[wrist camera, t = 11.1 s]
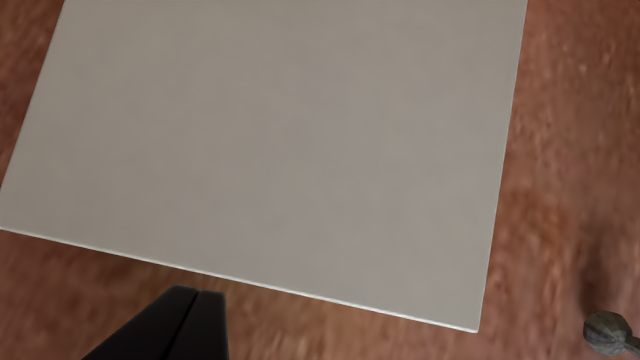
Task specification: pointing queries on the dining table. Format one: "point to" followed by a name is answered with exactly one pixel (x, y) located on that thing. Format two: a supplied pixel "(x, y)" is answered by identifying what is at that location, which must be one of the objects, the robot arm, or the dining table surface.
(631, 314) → the dining table surface
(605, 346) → the tabletop clock
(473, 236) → the lid
